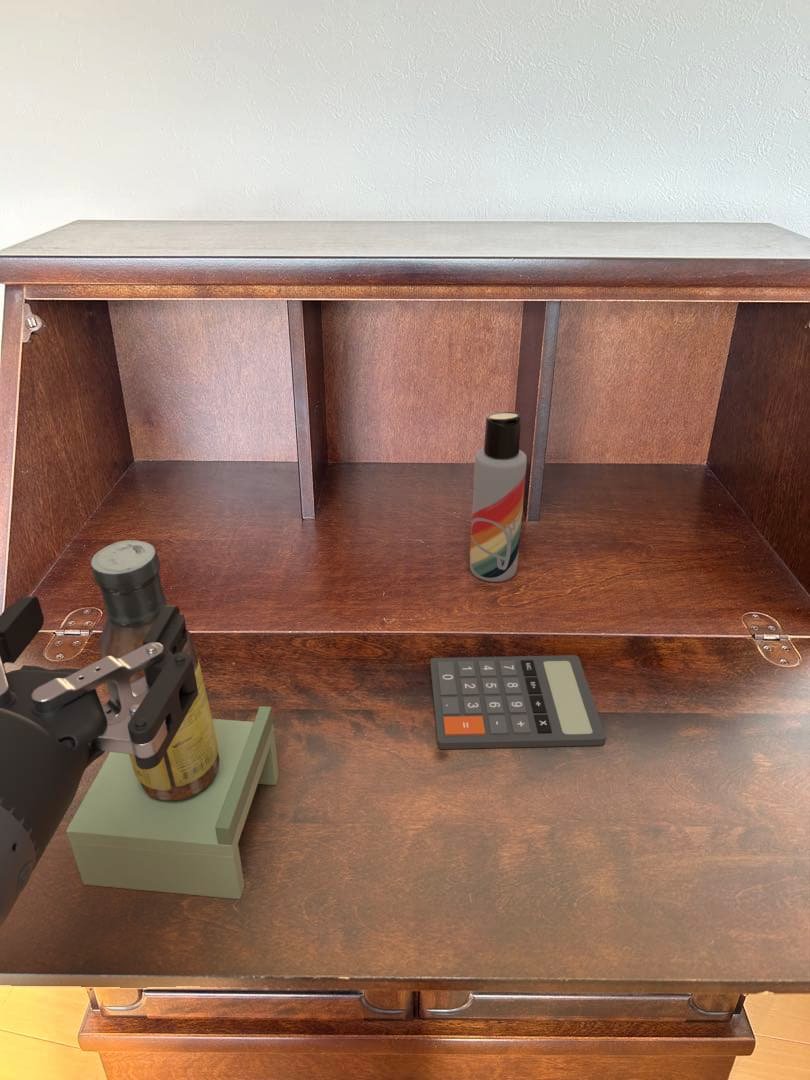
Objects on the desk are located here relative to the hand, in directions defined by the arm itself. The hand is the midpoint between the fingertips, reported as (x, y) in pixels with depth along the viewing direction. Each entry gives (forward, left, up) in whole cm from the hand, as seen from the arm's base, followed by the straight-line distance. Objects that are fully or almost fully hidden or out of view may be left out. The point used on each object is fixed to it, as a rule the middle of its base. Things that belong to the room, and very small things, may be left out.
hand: (104, 612), depth 47 cm
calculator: (+26, +22, -25) cm, 42 cm away
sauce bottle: (0, +5, -19) cm, 19 cm away
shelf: (0, +5, -25) cm, 25 cm away
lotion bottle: (+24, +45, -25) cm, 57 cm away
